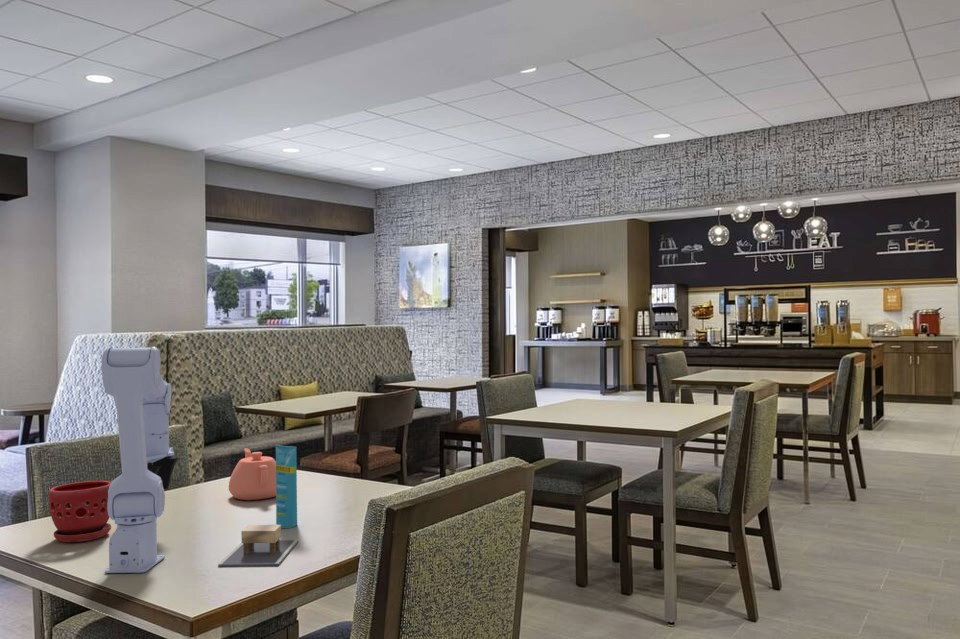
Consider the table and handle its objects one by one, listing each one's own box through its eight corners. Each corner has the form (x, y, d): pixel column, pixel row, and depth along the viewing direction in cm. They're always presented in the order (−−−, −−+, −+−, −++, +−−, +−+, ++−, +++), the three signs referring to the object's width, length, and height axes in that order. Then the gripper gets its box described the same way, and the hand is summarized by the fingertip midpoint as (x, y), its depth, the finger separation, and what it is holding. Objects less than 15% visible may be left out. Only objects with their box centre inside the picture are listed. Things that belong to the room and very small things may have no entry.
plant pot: (127, 531, 172) (126, 480, 172) (82, 547, 160) (82, 492, 160) (81, 527, 176) (81, 477, 176) (35, 543, 163) (34, 489, 163)
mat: (278, 565, 146) (278, 563, 146) (218, 566, 146) (218, 564, 146) (298, 541, 162) (298, 539, 162) (244, 542, 162) (244, 540, 162)
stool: (241, 555, 152) (241, 531, 152) (248, 548, 156) (248, 525, 156) (275, 554, 152) (275, 530, 152) (281, 548, 156) (281, 524, 156)
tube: (268, 526, 175) (267, 445, 175) (283, 521, 179) (282, 442, 179) (291, 530, 171) (290, 448, 171) (305, 525, 175) (305, 444, 175)
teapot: (220, 491, 212) (220, 449, 212) (272, 485, 220) (272, 444, 220) (237, 507, 193) (237, 460, 194) (294, 499, 201) (293, 455, 201)
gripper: (158, 438, 161) (159, 500, 161) (185, 428, 175) (186, 485, 175) (126, 438, 161) (127, 500, 161) (156, 428, 175) (156, 485, 175)
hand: (156, 492), depth 168 cm, fingers open, 7 cm apart
